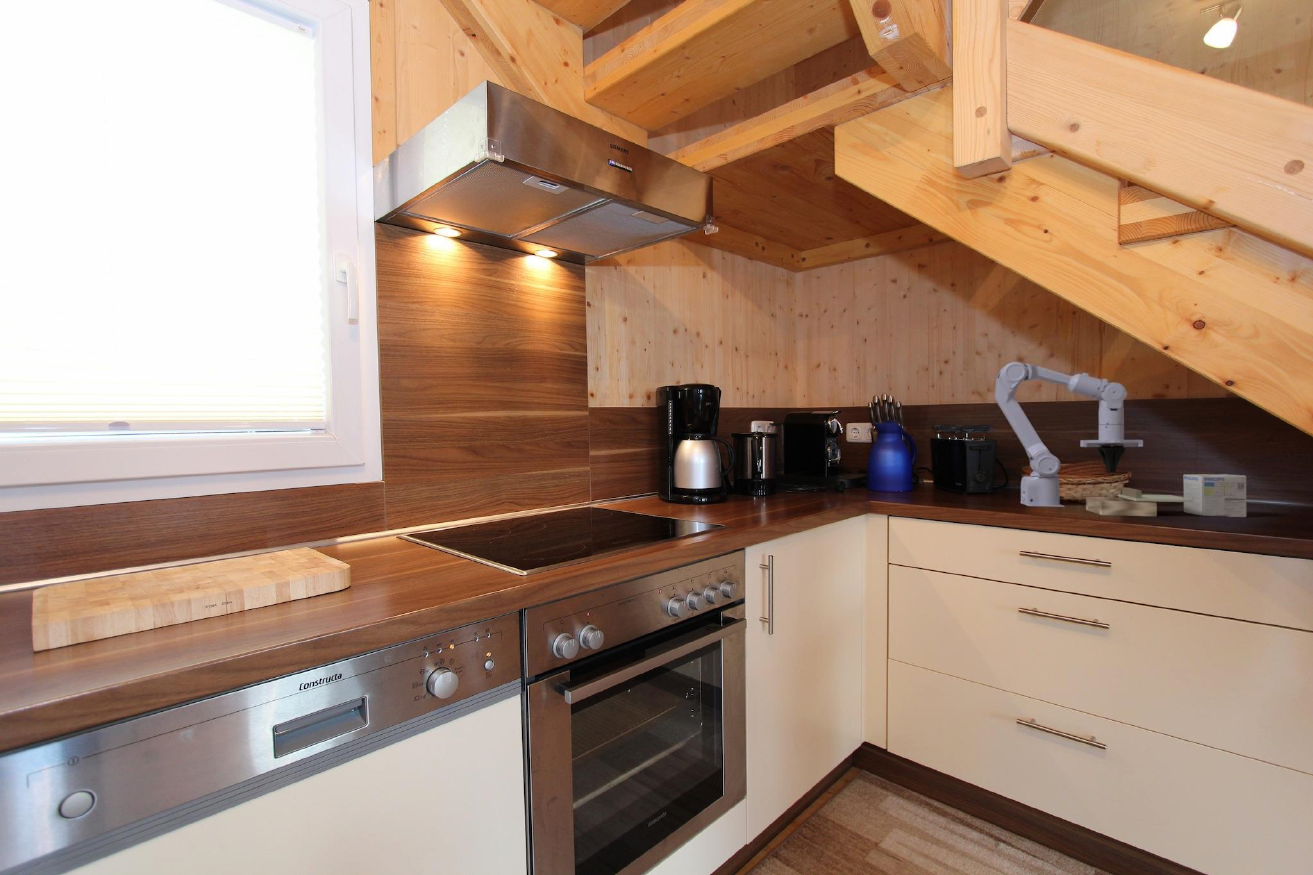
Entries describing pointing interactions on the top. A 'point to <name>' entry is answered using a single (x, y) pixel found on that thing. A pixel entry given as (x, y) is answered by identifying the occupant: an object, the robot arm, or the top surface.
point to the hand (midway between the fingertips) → (1111, 472)
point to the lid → (1150, 496)
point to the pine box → (1120, 506)
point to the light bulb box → (1215, 494)
